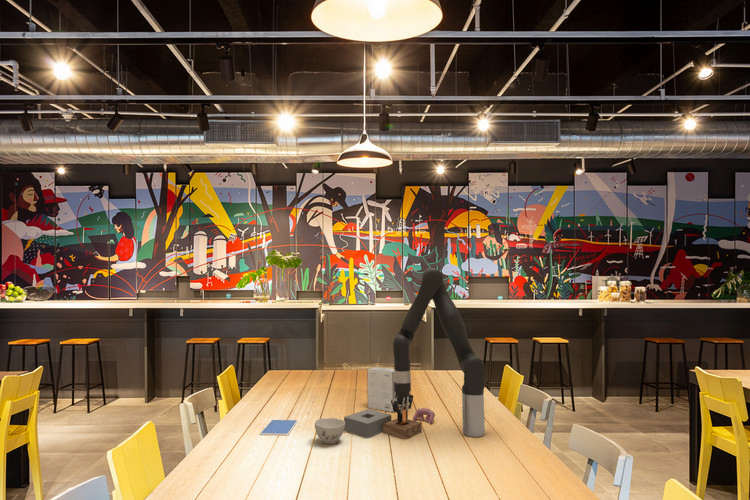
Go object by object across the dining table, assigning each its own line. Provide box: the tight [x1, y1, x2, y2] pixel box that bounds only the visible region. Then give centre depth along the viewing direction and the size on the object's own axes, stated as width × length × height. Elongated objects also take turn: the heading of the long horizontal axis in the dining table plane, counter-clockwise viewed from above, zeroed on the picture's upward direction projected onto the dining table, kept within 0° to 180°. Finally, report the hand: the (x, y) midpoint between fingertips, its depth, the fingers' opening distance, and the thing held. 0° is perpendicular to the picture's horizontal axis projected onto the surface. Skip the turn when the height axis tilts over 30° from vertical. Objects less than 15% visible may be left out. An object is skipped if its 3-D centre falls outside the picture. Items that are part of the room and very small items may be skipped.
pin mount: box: [382, 418, 423, 440], centre depth 192 cm, size 12×12×4 cm
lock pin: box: [399, 408, 406, 426], centre depth 192 cm, size 3×3×10 cm
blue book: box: [259, 419, 298, 437], centre depth 199 cm, size 19×13×1 cm, turn 177°
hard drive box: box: [366, 366, 400, 413], centre depth 229 cm, size 16×8×20 cm, turn 58°
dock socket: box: [343, 408, 392, 439], centre depth 196 cm, size 16×14×6 cm
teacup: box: [314, 417, 345, 445], centre depth 183 cm, size 15×12×8 cm
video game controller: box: [412, 407, 436, 425], centre depth 208 cm, size 10×5×7 cm, turn 59°
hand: (402, 420), depth 192 cm, fingers closed on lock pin, 3 cm apart
